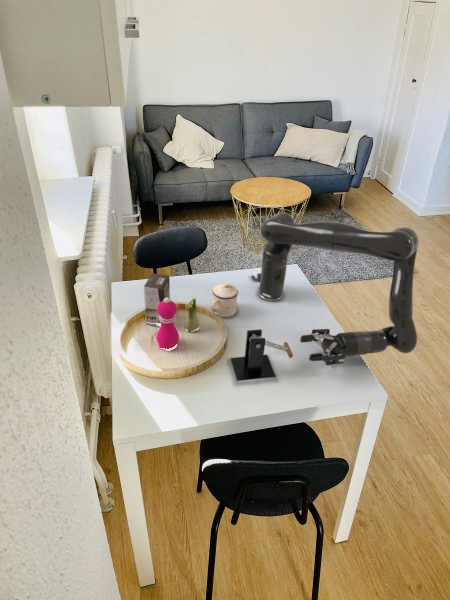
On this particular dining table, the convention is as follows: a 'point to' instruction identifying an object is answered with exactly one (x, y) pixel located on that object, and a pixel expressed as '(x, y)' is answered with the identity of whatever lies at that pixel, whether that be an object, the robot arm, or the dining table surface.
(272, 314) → the dining table surface
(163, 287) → the coffee box
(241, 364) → the bracket
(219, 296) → the teacup with lid
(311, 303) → the dining table surface
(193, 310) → the fennel bulb
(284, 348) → the lever
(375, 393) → the dining table surface
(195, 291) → the dining table surface
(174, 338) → the pepper mill
